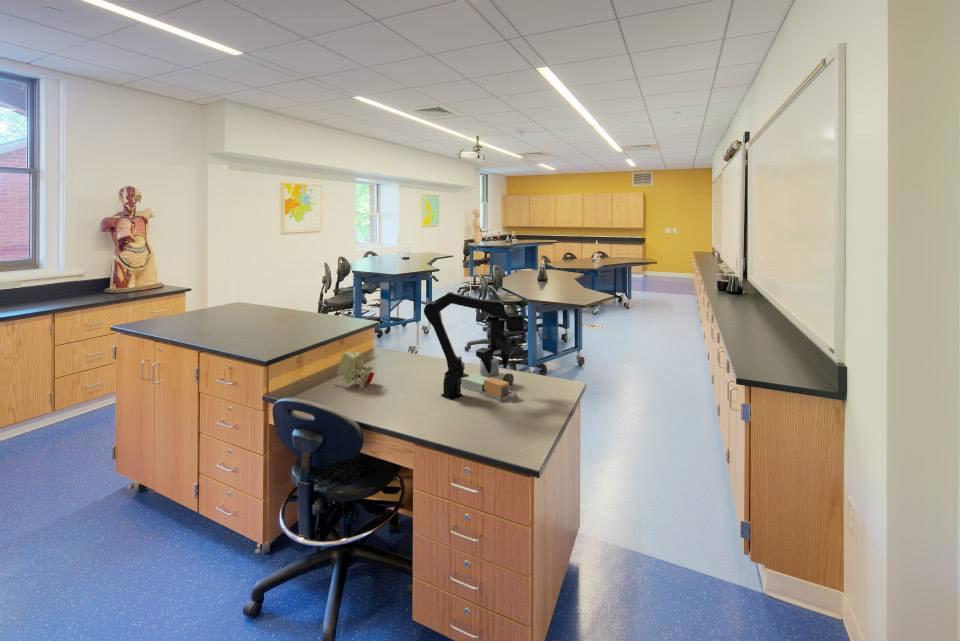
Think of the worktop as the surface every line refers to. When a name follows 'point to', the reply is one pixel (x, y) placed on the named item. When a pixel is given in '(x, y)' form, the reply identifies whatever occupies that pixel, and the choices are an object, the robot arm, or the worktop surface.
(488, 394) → the bracket
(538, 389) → the worktop surface
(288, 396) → the worktop surface
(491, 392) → the tan wooden brick
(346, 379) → the mechanical component
